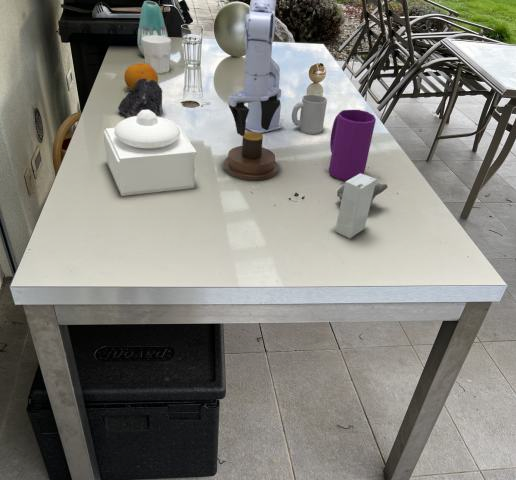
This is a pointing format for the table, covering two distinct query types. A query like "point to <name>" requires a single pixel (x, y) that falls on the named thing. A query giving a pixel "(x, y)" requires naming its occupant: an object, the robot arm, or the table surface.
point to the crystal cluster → (142, 99)
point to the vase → (150, 23)
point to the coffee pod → (252, 145)
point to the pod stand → (251, 165)
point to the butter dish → (149, 155)
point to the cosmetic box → (355, 205)
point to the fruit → (139, 74)
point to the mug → (350, 143)
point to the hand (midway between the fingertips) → (252, 131)
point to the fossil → (377, 190)
